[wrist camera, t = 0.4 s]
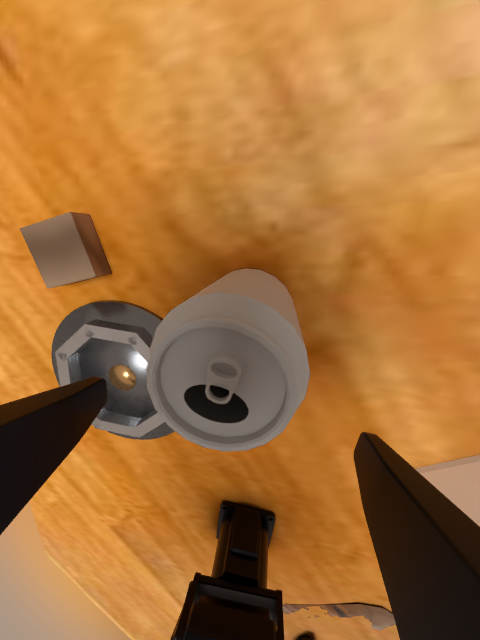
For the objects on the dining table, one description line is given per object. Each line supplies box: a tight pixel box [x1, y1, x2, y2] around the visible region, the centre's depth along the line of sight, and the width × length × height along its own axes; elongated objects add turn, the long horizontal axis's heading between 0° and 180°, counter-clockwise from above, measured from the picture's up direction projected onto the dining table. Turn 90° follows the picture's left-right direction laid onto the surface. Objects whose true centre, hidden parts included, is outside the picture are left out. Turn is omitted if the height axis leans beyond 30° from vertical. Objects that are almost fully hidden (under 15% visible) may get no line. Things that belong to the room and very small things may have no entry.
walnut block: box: [20, 212, 112, 289], centre depth 20 cm, size 5×5×2 cm
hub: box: [52, 301, 174, 440], centre depth 24 cm, size 16×16×2 cm
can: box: [146, 268, 310, 451], centre depth 15 cm, size 8×8×12 cm
